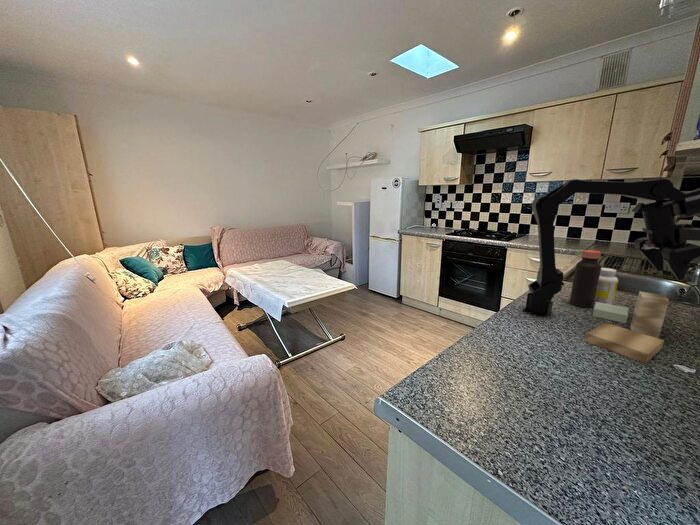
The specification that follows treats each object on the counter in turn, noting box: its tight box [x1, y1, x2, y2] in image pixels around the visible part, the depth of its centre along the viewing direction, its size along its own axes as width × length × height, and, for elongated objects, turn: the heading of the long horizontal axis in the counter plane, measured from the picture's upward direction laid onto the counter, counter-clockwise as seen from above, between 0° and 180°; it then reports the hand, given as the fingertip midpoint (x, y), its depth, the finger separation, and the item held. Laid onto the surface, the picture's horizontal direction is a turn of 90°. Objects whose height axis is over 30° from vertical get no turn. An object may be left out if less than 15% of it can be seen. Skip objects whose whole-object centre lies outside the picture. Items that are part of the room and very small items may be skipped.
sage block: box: [592, 302, 629, 324], centre depth 91 cm, size 8×8×3 cm
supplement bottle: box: [594, 267, 619, 305], centre depth 100 cm, size 7×7×13 cm
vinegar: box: [569, 249, 602, 309], centre depth 98 cm, size 7×7×20 cm
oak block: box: [584, 322, 665, 364], centre depth 74 cm, size 12×12×3 cm
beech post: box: [629, 291, 670, 339], centre depth 77 cm, size 5×5×12 cm
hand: (670, 274), depth 79 cm, fingers open, 9 cm apart
